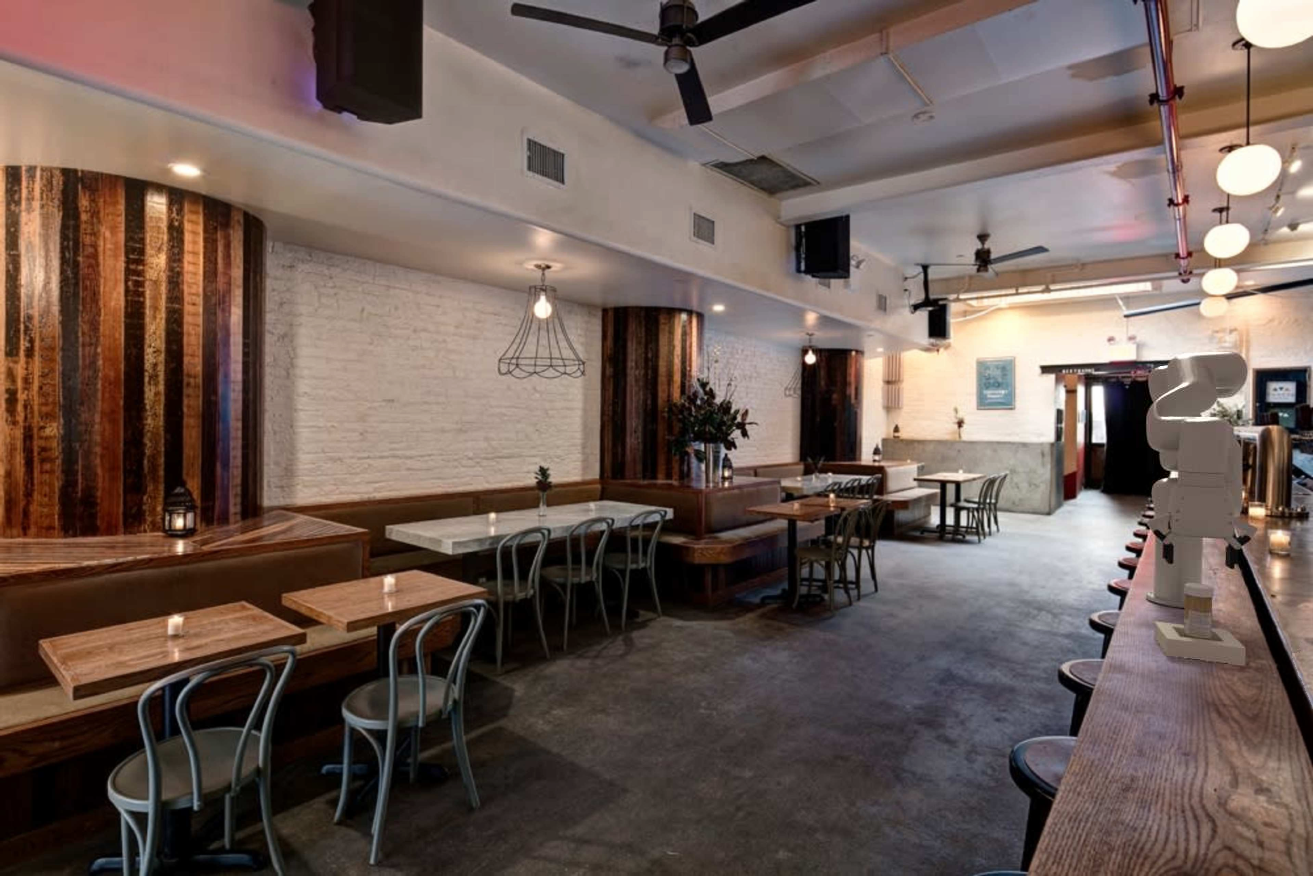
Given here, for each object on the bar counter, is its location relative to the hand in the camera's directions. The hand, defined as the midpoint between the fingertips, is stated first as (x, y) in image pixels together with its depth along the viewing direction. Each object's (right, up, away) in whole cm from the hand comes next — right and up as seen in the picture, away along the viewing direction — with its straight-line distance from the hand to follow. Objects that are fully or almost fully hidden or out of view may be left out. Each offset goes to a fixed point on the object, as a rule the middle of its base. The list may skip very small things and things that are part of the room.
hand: (1199, 565), depth 134 cm
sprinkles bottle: (0, -18, +1) cm, 18 cm away
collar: (0, -18, 0) cm, 18 cm away
